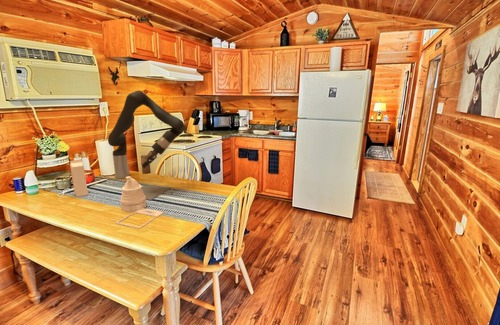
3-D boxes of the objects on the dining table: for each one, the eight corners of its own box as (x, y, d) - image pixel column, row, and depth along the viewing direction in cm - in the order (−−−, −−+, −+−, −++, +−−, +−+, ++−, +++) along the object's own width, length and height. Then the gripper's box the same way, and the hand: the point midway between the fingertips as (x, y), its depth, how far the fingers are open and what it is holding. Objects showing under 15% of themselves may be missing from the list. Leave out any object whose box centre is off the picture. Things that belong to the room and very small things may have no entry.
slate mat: (146, 185, 176) (146, 184, 176) (169, 188, 173) (169, 187, 172) (124, 197, 156) (124, 196, 155) (150, 200, 152) (150, 199, 152)
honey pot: (137, 212, 136) (133, 180, 131) (115, 210, 138) (111, 178, 134) (151, 203, 148) (148, 173, 144) (131, 201, 151) (127, 171, 146)
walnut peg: (145, 171, 164) (143, 154, 161) (152, 172, 163) (150, 155, 160) (140, 173, 159) (139, 156, 156) (147, 174, 158) (146, 156, 155)
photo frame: (163, 211, 136) (139, 227, 120) (164, 213, 136) (139, 229, 120) (141, 207, 141) (115, 222, 124) (141, 209, 141) (115, 224, 124)
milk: (88, 194, 160) (82, 160, 154) (76, 197, 156) (70, 162, 150) (85, 191, 164) (80, 158, 158) (74, 194, 160) (69, 159, 154)
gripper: (154, 139, 165) (136, 159, 163) (158, 143, 153) (138, 165, 151) (164, 147, 169) (146, 166, 167) (168, 151, 157) (148, 172, 155)
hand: (142, 165), depth 159 cm, fingers closed on walnut peg, 4 cm apart
